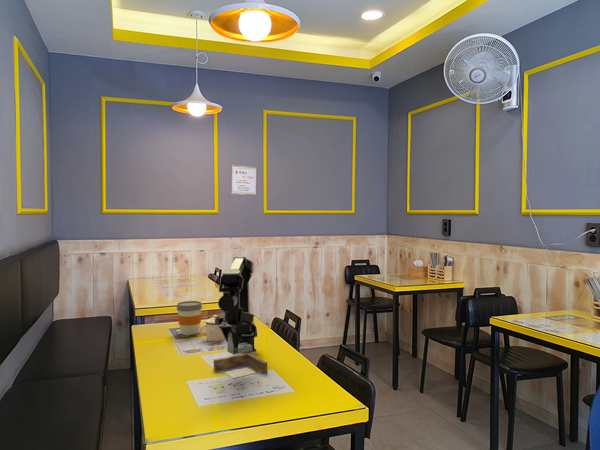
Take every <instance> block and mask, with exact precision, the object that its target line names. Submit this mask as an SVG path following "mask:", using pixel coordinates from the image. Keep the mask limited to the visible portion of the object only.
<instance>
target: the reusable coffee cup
mask: <svg viewBox="0 0 600 450" xmlns="http://www.w3.org/2000/svg"><path fill="white" fill-rule="evenodd" d="M202 309H203V305H202V302H201V301H198V300H197V301H196V300H189V301H180V302H178V303H177V304H176V311H177V321H178V325H179V328H180V335H184V336H191V335H193V336H194V335H197V334H199V333H200V327H201V326H200V324H201V323H202Z"/></svg>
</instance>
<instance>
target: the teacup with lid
mask: <svg viewBox="0 0 600 450" xmlns="http://www.w3.org/2000/svg"><path fill="white" fill-rule="evenodd" d="M216 317H218V314H213V315H212V317H210V318H208V319H207V320H206V321H205V324H203V325H201V326H199V333H200V334H201V335H202V336H205V337H206V341H207V342H211V343H212V342H214V343H215V342H220V341H224V340H225V338H224V336H223V334H222V332H221V330H220V328H219V326H221V323H220V325H216V324H215V319H216ZM203 328H205V329H206V331H205V332H206V333H203V332H202V329H203Z"/></svg>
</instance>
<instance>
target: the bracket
mask: <svg viewBox="0 0 600 450" xmlns="http://www.w3.org/2000/svg"><path fill="white" fill-rule="evenodd" d="M226 346H227V352H228V353H229V354H232V356H234V355H238V354H243V353H244V352H246V353H250V352H249V351H251V352H253V351H252V345H250V344H248V343H241V344H238V348H236V349H235V348H234V346H233V343H232V340H231V337H230V334H229V333H227V342H226Z"/></svg>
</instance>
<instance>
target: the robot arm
mask: <svg viewBox="0 0 600 450" xmlns="http://www.w3.org/2000/svg"><path fill="white" fill-rule="evenodd" d="M253 273H254V264H253V262H252V261H251V260H249V258H248V259H247V257H246V256H245V255H244V256H243V255H242V256H240V255H239V256H233V259H232V264H231V265H230V268H229V269H227V270H224V272H223V273H222V274H221V276H220V280H219V281H220V282H219V287H218V288H219V290H218V293H222V296H221V297H220V298H219V299H218V301H217V303H218V304H217V305H218V308H219V309H220V310H221V311H223V312H224V315H219V316H218V315H217V317H216V319H215V324H216V325H220V323H221V326H219V328H220V330H221V332H222V334H223V336H224V338H225V339H224V340H225V342H226V343H227V333H229V334H230V337H231V340H232V343H233V346H234V348H235V349H236V348H238V344H241V343H248V344H250V345H252V351H249V352H248V353H250V352H255V351H257V348H255V338H257V337H258V329H257V326H256V323H255V319H254V317H255V314H253V313H251V309H250V305H251V304H250V303H251V302H250V283H249V282H250V280H251V278H252V276H253ZM244 353H247V352H244Z"/></svg>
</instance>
